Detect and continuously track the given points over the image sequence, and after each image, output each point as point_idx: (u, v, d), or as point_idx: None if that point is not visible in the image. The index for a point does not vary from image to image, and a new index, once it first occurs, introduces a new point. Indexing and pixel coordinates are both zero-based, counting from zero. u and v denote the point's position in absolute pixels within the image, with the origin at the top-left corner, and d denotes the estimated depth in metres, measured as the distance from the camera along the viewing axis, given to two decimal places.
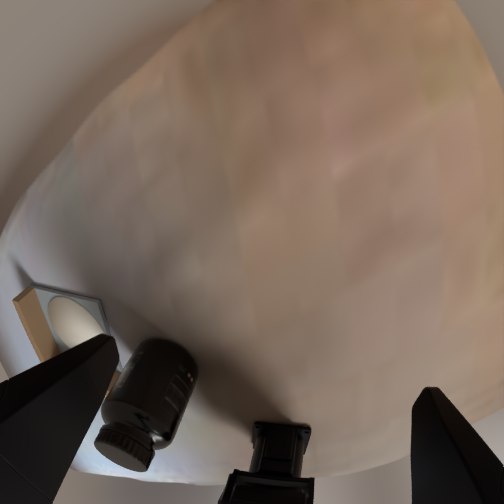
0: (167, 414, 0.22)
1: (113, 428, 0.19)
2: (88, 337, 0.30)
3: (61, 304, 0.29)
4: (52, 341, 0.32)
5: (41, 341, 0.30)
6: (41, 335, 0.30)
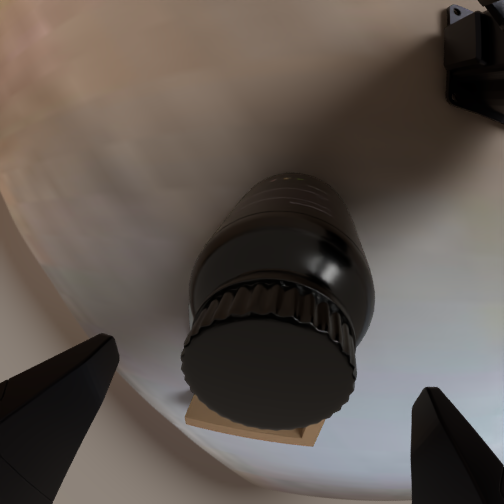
0: (243, 213, 0.11)
1: None
2: None
3: None
4: None
5: None
6: None
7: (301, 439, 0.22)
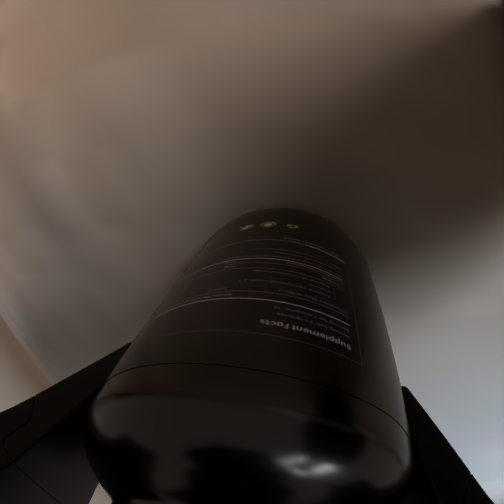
0: (159, 344, 0.05)
1: None
2: None
3: None
4: None
5: None
6: None
7: None
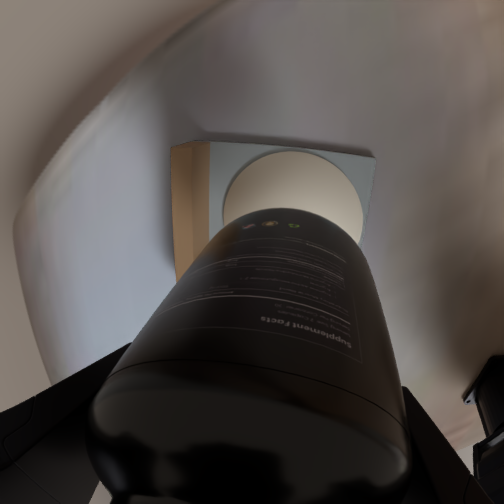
0: (160, 341, 0.05)
1: None
2: None
3: (281, 166, 0.18)
4: None
5: (198, 251, 0.19)
6: (200, 238, 0.19)
7: None
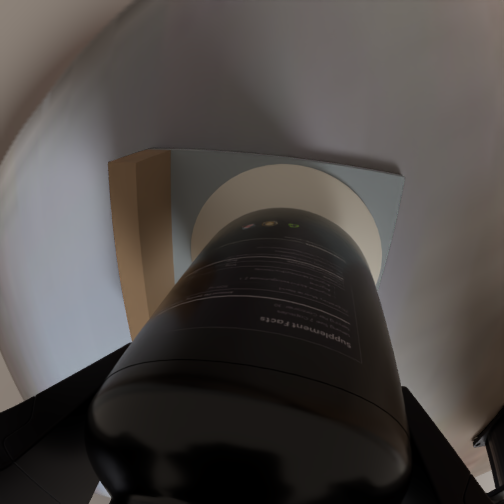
0: (159, 341, 0.05)
1: None
2: None
3: (270, 186, 0.12)
4: None
5: (156, 300, 0.14)
6: (159, 283, 0.14)
7: None
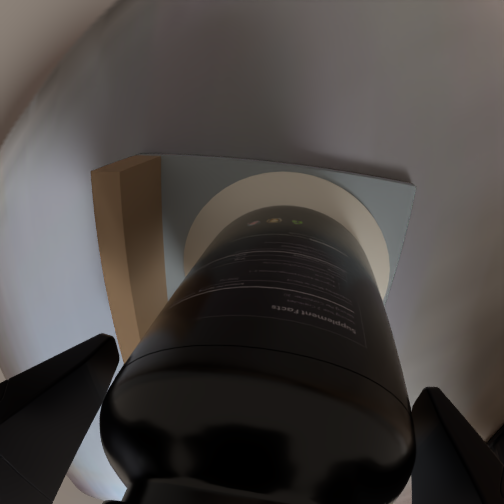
0: (176, 330, 0.05)
1: None
2: None
3: (269, 196, 0.11)
4: None
5: (147, 318, 0.12)
6: (149, 299, 0.13)
7: None
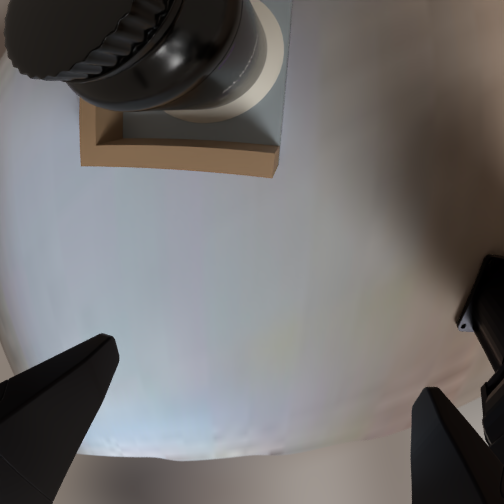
0: None
1: None
2: None
3: None
4: None
5: None
6: None
7: (93, 145, 0.15)
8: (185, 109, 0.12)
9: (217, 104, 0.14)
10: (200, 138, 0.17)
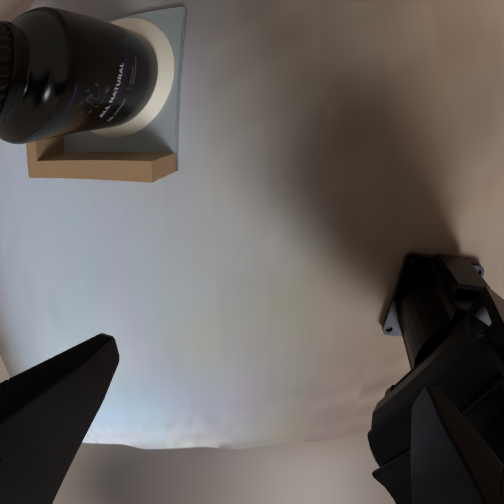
0: None
1: None
2: None
3: None
4: None
5: None
6: None
7: (35, 161, 0.17)
8: None
9: (112, 123, 0.16)
10: (116, 151, 0.19)
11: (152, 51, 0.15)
